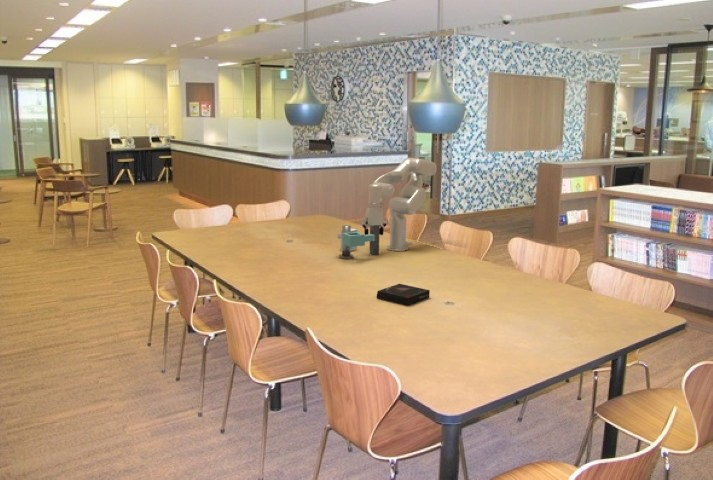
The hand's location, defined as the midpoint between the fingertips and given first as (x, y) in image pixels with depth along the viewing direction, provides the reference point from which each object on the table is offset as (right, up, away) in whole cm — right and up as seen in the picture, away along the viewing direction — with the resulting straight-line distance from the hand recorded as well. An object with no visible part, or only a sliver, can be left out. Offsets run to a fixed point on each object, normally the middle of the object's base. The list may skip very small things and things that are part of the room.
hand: (373, 235), depth 359 cm
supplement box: (-15, -9, +14) cm, 22 cm away
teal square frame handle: (-8, -5, -13) cm, 16 cm away
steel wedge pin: (0, -11, +3) cm, 11 cm away
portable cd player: (+11, -29, -83) cm, 88 cm away
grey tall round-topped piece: (-16, -12, -5) cm, 21 cm away
